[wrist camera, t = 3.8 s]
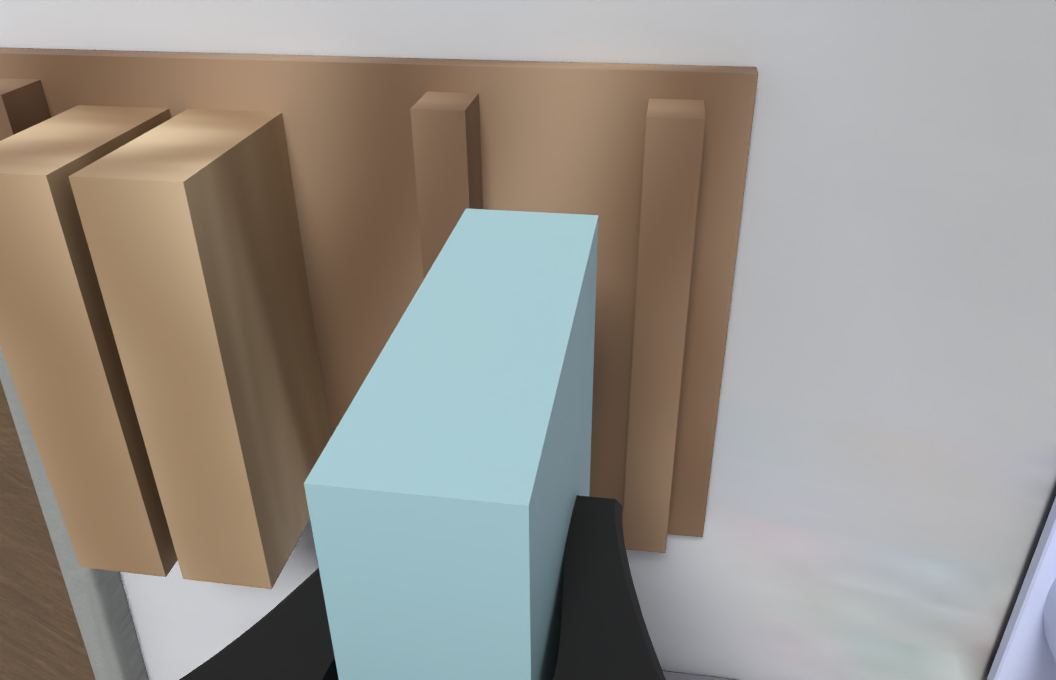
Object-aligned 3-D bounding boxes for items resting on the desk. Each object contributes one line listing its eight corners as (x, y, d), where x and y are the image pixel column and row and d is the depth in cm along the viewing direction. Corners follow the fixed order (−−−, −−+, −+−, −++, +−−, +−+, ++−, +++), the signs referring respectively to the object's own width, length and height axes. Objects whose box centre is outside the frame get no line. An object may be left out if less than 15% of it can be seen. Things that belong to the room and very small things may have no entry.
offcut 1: (169, 108, 18) (46, 175, 14) (245, 462, 22) (165, 577, 19) (78, 105, 18) (-65, 170, 15) (172, 455, 23) (80, 567, 19)
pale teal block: (598, 215, 13) (529, 505, 7) (584, 637, 18) (535, 1013, 12) (466, 208, 13) (304, 483, 8) (486, 625, 18) (393, 987, 12)
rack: (756, 66, 16) (762, 90, 15) (702, 522, 22) (703, 572, 20) (-9, 47, 18) (-69, 66, 17) (120, 466, 24) (83, 508, 22)
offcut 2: (281, 112, 17) (183, 182, 14) (336, 470, 22) (271, 589, 19) (187, 109, 18) (68, 176, 14) (260, 463, 22) (183, 578, 19)
